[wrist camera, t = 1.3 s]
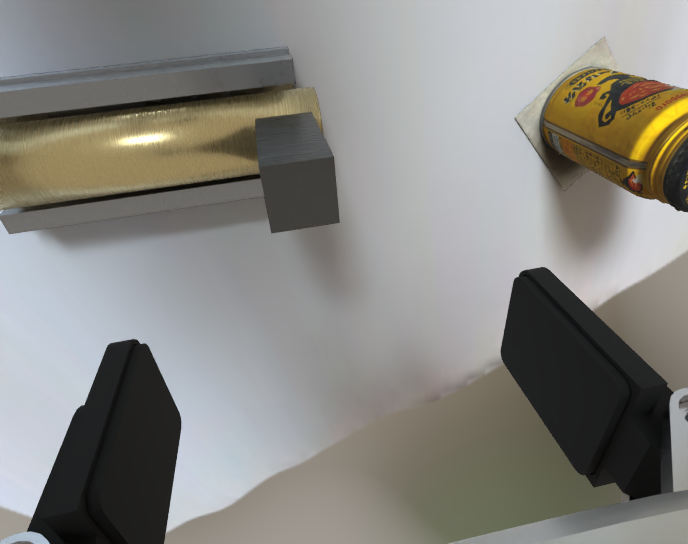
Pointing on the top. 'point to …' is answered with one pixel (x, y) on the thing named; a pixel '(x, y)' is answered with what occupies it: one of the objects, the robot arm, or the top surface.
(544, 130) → the condiment
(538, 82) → the top surface
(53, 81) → the channel
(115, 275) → the top surface
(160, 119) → the bolt
